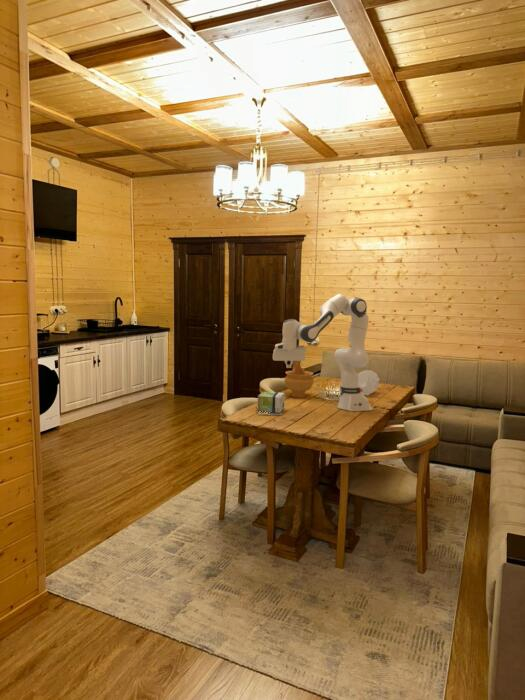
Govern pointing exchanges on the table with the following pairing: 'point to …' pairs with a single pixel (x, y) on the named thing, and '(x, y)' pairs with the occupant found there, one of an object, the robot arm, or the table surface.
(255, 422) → the table surface
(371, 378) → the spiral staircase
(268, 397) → the tea box
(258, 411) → the mat
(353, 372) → the robot arm
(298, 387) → the terracotta urn
